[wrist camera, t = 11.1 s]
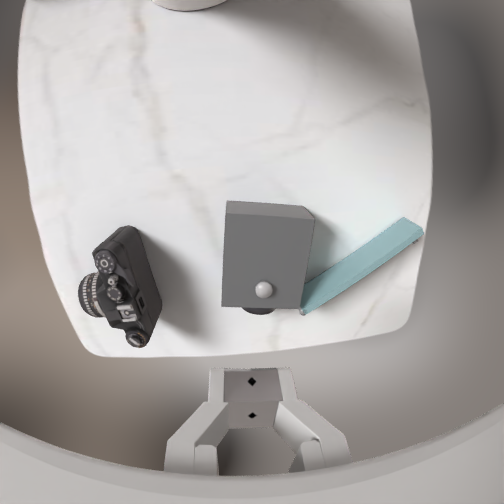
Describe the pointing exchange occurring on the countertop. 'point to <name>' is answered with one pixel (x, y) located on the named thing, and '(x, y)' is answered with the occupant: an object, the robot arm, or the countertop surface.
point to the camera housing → (265, 255)
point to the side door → (359, 264)
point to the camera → (123, 287)
